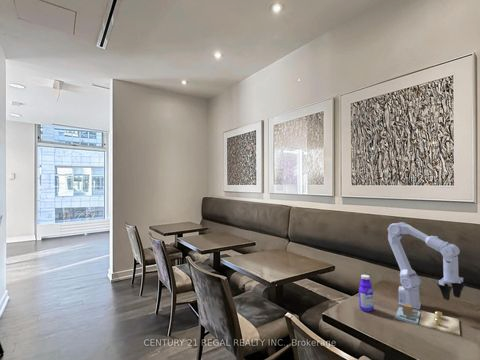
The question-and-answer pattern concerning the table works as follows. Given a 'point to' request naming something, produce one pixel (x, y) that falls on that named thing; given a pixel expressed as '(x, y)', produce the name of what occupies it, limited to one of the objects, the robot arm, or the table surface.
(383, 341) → the table surface
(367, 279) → the bottle
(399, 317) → the panel
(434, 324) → the board
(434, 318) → the bosses
